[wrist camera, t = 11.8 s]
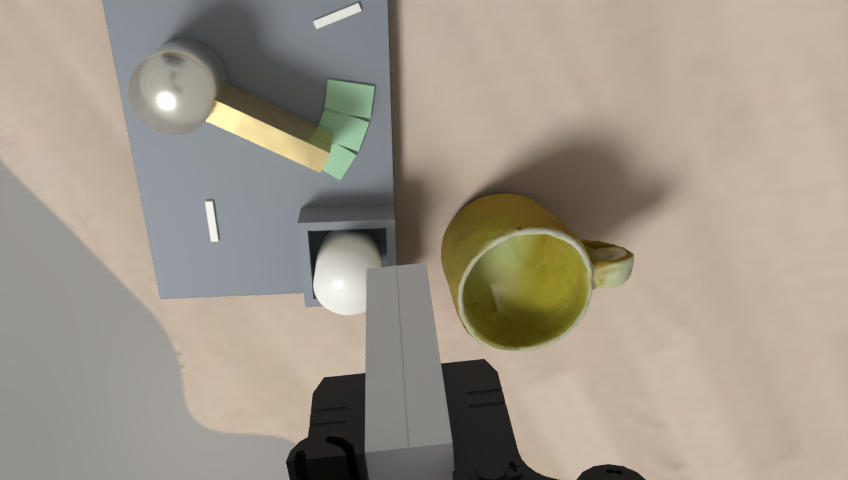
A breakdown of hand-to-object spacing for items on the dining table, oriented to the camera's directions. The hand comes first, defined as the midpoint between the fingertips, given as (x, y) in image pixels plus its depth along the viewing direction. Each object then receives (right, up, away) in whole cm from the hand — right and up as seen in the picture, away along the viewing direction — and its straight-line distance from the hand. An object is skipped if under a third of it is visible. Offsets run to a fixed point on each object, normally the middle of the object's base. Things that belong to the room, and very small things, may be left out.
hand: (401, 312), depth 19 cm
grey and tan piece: (-11, +11, +28) cm, 32 cm away
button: (-5, +1, +32) cm, 32 cm away
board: (-10, +9, +30) cm, 33 cm away
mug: (+8, +2, +35) cm, 36 cm away
